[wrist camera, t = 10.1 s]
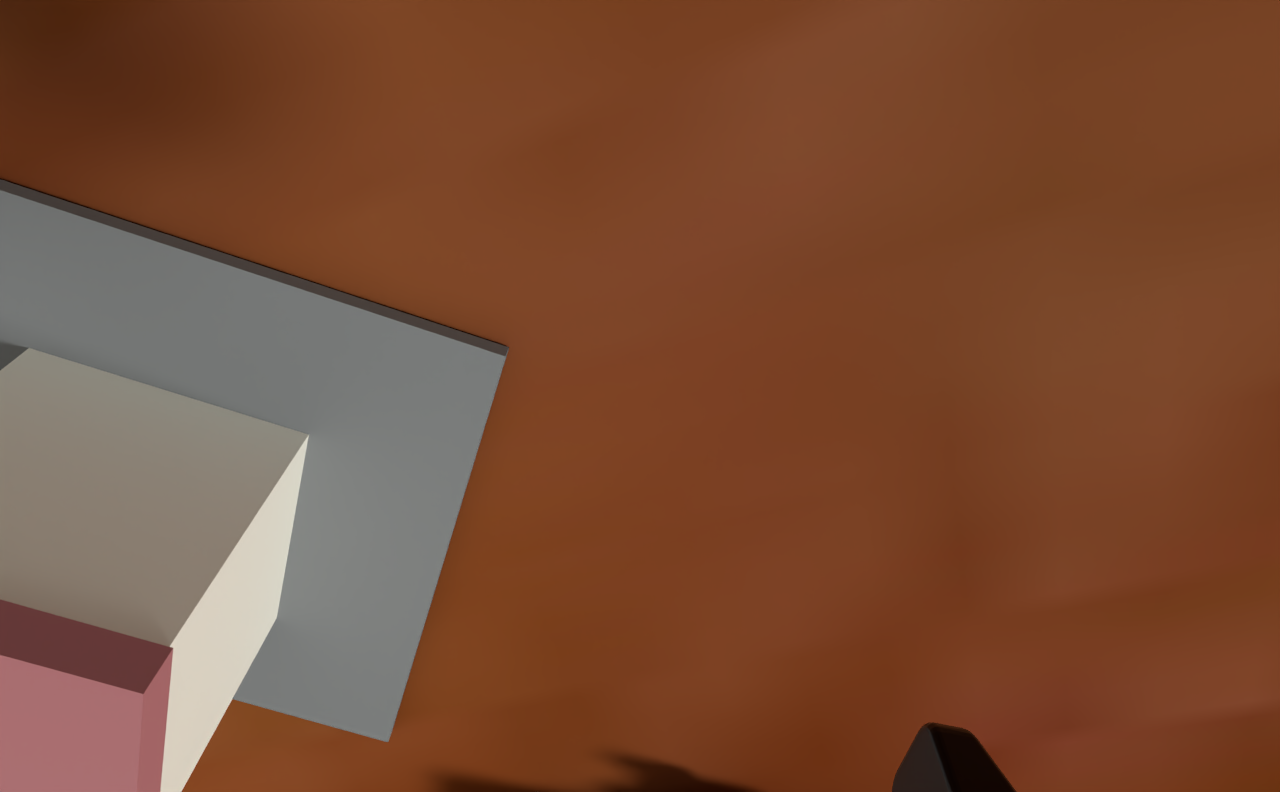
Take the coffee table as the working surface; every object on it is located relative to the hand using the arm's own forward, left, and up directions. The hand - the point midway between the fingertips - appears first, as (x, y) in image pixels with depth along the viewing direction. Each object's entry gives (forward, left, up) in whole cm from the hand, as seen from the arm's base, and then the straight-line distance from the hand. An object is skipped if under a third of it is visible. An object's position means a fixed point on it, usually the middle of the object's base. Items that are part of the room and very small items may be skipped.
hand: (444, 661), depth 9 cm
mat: (+11, -8, -12) cm, 18 cm away
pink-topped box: (+11, -8, -12) cm, 18 cm away
